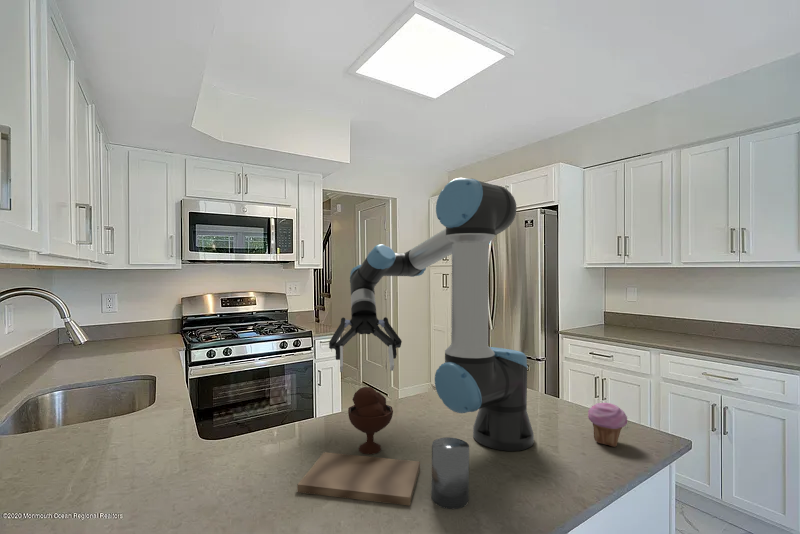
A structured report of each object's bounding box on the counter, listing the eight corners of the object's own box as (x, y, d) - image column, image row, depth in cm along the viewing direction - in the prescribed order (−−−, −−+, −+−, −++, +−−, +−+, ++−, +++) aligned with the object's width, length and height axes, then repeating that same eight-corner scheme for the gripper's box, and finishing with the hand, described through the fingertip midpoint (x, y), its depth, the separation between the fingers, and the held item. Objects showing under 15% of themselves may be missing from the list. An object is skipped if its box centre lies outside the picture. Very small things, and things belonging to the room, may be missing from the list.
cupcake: (584, 443, 101) (584, 404, 101) (591, 432, 107) (592, 395, 108) (624, 453, 95) (624, 411, 95) (629, 441, 102) (629, 402, 102)
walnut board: (419, 468, 87) (420, 461, 87) (410, 505, 73) (410, 497, 73) (323, 458, 91) (323, 452, 91) (297, 492, 77) (297, 484, 77)
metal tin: (468, 490, 78) (469, 439, 79) (468, 511, 72) (469, 455, 72) (433, 486, 80) (433, 436, 80) (429, 506, 73) (430, 451, 73)
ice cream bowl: (387, 461, 90) (388, 394, 90) (340, 456, 92) (341, 391, 92) (397, 442, 100) (398, 382, 100) (354, 437, 102) (355, 379, 102)
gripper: (402, 314, 126) (410, 374, 111) (321, 315, 122) (319, 377, 107) (405, 299, 121) (415, 359, 106) (321, 299, 117) (319, 362, 102)
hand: (367, 368), depth 107 cm, fingers open, 13 cm apart
